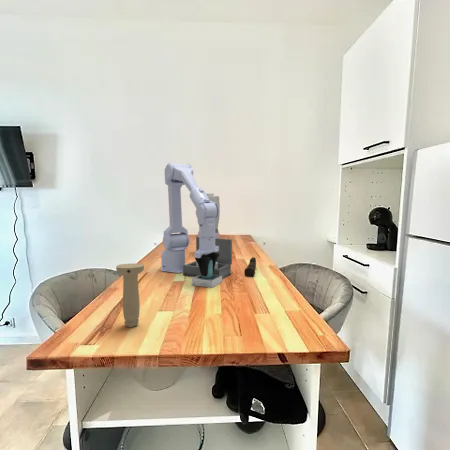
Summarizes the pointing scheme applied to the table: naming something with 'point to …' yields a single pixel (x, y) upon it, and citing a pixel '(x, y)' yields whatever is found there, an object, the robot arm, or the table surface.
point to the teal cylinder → (209, 271)
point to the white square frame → (207, 281)
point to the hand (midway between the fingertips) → (207, 274)
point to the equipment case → (221, 264)
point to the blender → (216, 200)
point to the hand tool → (250, 268)
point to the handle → (130, 292)
